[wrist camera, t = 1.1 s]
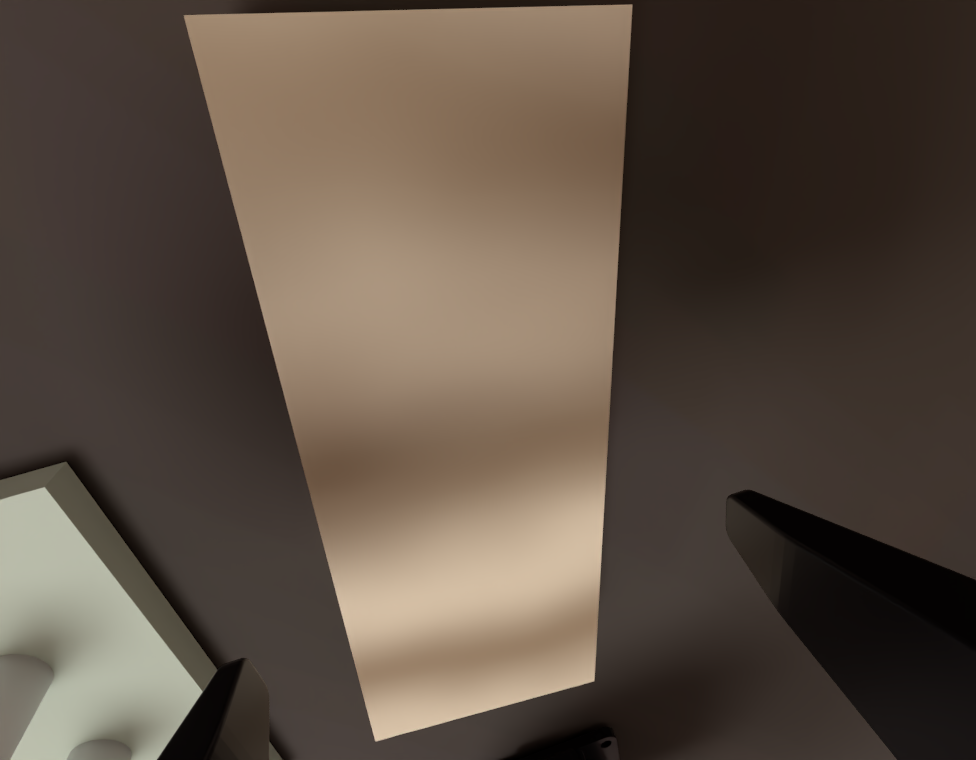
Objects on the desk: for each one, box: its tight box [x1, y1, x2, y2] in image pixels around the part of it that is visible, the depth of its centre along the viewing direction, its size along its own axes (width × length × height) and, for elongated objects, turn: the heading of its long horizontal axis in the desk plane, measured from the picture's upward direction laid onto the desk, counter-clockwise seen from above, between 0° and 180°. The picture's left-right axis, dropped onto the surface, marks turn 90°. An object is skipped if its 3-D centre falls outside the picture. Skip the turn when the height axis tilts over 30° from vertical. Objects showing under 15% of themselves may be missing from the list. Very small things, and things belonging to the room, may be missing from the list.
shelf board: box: [184, 4, 632, 741], centre depth 13 cm, size 18×7×3 cm, turn 4°
